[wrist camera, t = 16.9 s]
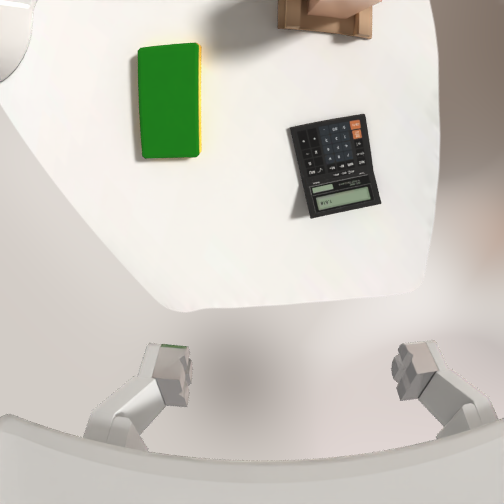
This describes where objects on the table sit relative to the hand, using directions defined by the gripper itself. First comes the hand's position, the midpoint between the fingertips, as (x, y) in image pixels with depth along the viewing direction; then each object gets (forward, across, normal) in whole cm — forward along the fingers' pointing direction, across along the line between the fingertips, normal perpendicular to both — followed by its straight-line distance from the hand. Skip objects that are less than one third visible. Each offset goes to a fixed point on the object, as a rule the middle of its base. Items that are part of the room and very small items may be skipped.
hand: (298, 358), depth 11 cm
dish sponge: (+32, +12, -6) cm, 34 cm away
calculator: (+32, -8, +2) cm, 33 cm away
